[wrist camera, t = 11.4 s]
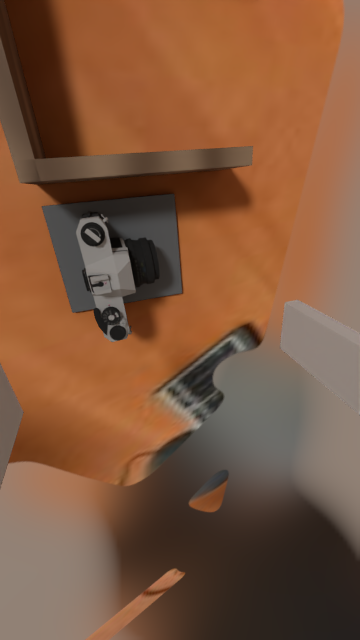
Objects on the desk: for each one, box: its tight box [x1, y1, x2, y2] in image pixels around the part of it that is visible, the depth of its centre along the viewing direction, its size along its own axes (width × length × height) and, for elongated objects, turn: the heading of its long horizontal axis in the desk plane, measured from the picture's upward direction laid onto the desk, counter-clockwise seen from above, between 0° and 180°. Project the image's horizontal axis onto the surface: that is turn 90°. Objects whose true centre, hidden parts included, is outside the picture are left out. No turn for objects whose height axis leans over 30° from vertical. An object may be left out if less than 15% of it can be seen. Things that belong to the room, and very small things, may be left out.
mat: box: [42, 194, 182, 313], centre depth 32 cm, size 14×12×1 cm
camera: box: [76, 211, 160, 342], centre depth 28 cm, size 13×8×9 cm, turn 9°
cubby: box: [0, 0, 253, 185], centre depth 21 cm, size 20×20×7 cm
